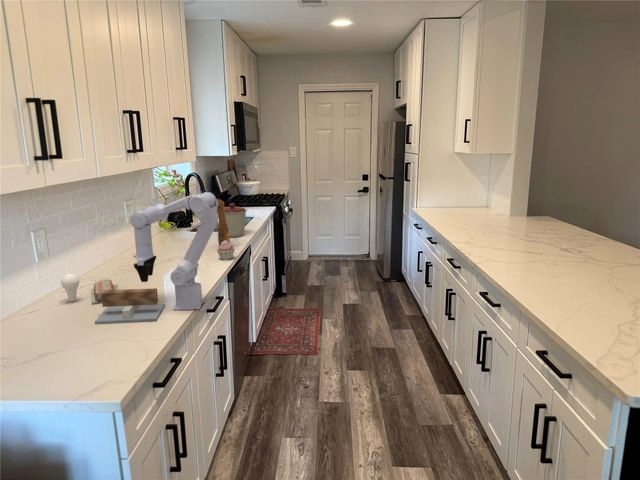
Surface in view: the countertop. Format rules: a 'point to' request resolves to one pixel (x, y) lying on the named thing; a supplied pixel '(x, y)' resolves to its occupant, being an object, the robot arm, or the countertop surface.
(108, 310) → the ridge board
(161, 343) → the countertop surface
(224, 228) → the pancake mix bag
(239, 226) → the canister
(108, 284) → the packaged product
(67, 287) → the lightbulb
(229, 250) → the cupcake
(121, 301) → the walnut batten
